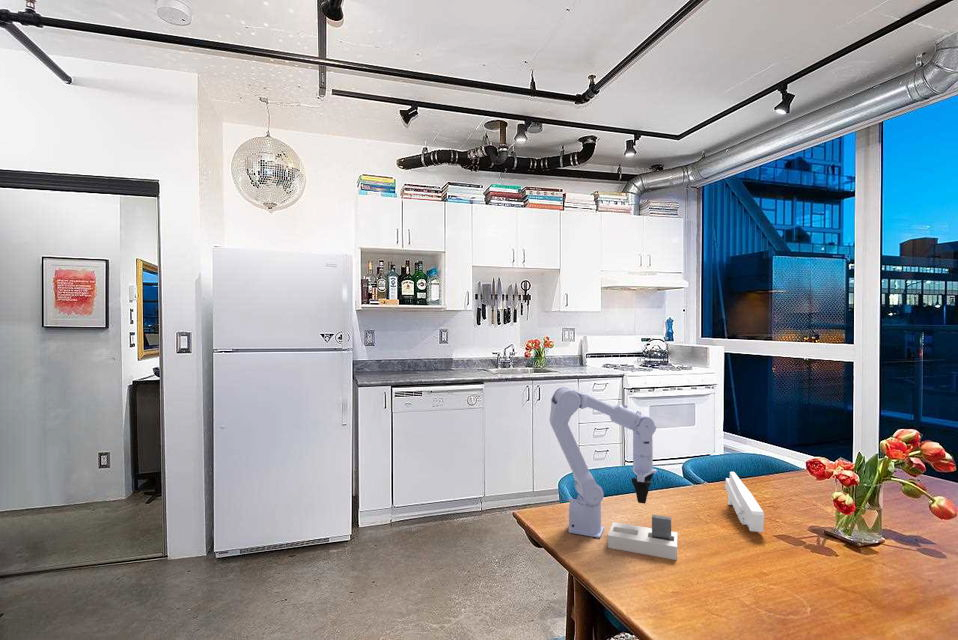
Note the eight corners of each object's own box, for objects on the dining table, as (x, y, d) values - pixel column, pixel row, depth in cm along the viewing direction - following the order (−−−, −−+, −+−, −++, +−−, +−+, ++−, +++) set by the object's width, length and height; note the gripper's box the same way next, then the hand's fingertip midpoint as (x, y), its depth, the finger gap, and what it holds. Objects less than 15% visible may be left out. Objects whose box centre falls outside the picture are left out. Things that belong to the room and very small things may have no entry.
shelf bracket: (738, 505, 168) (740, 472, 166) (765, 551, 144) (768, 513, 142) (721, 504, 169) (723, 471, 167) (745, 550, 145) (748, 512, 143)
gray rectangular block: (651, 549, 134) (651, 517, 135) (652, 546, 136) (652, 514, 136) (671, 552, 132) (671, 519, 133) (671, 549, 134) (671, 517, 134)
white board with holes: (607, 547, 135) (607, 535, 135) (613, 533, 145) (612, 522, 145) (676, 560, 128) (676, 546, 128) (677, 544, 137) (677, 532, 137)
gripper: (654, 461, 140) (655, 508, 140) (657, 450, 153) (658, 493, 153) (629, 459, 143) (629, 505, 142) (634, 448, 156) (634, 490, 156)
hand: (642, 498), depth 148 cm, fingers open, 7 cm apart
